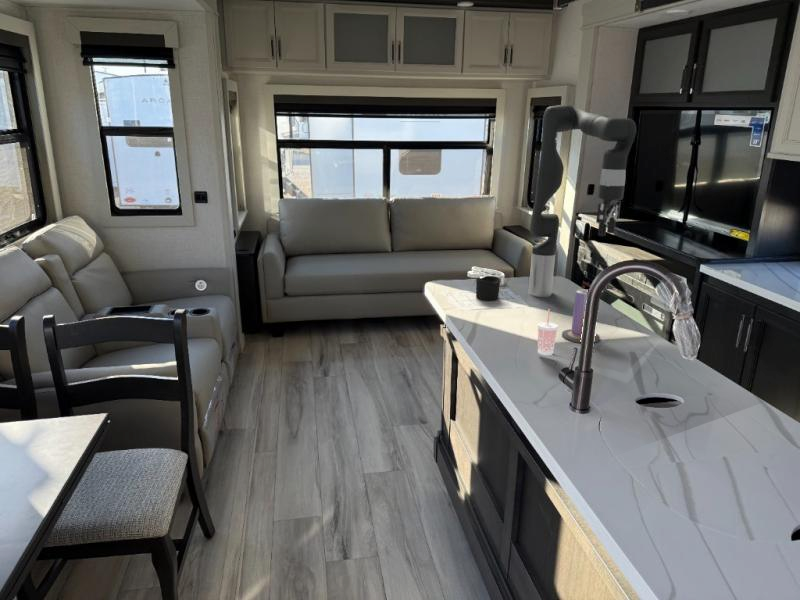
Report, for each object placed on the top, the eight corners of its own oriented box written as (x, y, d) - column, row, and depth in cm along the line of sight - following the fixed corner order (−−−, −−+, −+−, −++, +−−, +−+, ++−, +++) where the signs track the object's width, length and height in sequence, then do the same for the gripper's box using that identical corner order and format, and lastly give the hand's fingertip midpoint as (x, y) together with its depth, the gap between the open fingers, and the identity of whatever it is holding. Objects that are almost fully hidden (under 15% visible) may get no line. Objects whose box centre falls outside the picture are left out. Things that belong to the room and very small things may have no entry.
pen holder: (475, 298, 231) (476, 275, 228) (498, 300, 229) (499, 276, 227) (475, 305, 222) (476, 280, 219) (498, 306, 220) (500, 281, 218)
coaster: (570, 329, 195) (570, 326, 195) (604, 336, 188) (604, 334, 187) (556, 337, 186) (556, 335, 185) (591, 346, 179) (592, 343, 178)
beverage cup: (559, 352, 173) (563, 309, 169) (549, 357, 168) (553, 313, 165) (541, 347, 177) (544, 305, 173) (531, 352, 172) (535, 309, 169)
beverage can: (570, 336, 185) (574, 292, 181) (572, 330, 190) (576, 288, 186) (589, 338, 183) (594, 294, 179) (590, 333, 188) (595, 290, 184)
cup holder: (463, 282, 257) (463, 267, 255) (484, 281, 261) (484, 265, 259) (485, 293, 240) (486, 276, 238) (507, 291, 244) (508, 275, 242)
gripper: (607, 182, 185) (602, 230, 190) (592, 184, 175) (586, 235, 179) (631, 183, 181) (624, 233, 185) (616, 185, 170) (610, 238, 175)
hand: (606, 234), depth 182 cm, fingers open, 8 cm apart
